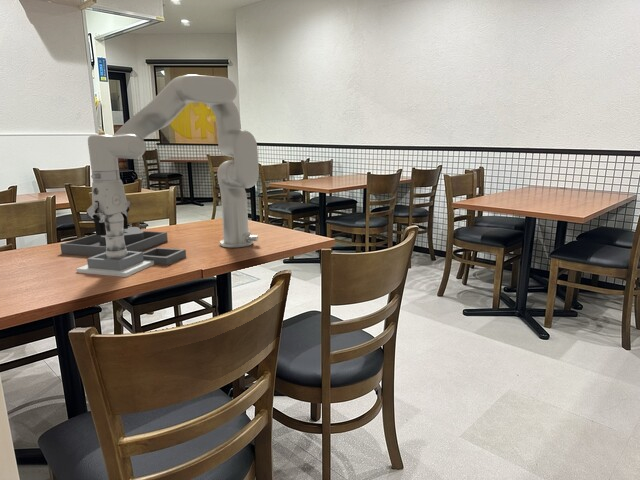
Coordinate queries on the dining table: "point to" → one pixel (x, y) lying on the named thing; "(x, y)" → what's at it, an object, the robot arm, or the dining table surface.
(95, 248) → the dark grey organizer tray
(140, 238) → the streaming box
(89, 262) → the board
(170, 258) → the tray
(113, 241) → the plastic bottle
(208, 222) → the dining table surface
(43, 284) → the dining table surface
